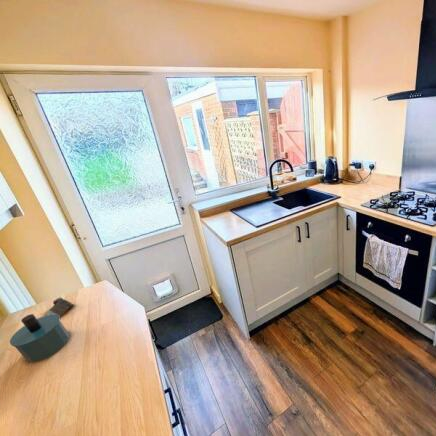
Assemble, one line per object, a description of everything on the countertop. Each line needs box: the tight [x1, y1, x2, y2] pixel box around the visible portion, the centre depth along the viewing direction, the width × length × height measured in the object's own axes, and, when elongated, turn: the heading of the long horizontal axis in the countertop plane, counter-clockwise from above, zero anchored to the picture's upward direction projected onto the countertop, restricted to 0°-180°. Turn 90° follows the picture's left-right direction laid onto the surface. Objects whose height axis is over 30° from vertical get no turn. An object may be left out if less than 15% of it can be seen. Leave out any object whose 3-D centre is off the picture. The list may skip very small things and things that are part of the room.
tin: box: [15, 320, 70, 363], centre depth 90 cm, size 12×12×8 cm
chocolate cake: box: [45, 296, 75, 318], centre depth 107 cm, size 10×7×12 cm
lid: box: [9, 313, 61, 348], centre depth 87 cm, size 13×13×7 cm
